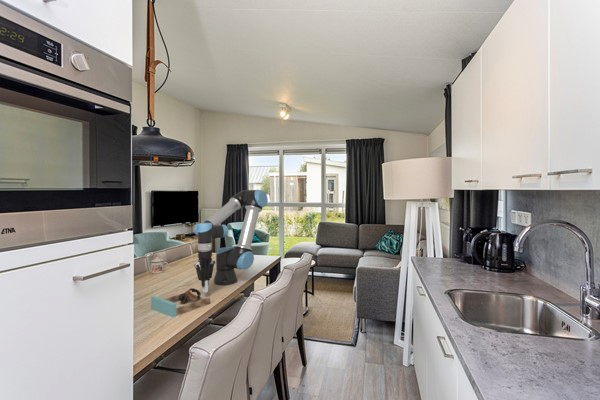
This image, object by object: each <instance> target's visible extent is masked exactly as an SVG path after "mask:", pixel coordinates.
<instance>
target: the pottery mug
mask: <svg viewBox="0 0 600 400" xmlns="http://www.w3.org/2000/svg"><path fill="white" fill-rule="evenodd" d="M183 293H184V294H183ZM183 293H182V292H181V293H179V294H180V295H179V294H178V295H179V297H178V299H179V301H178V302H180V303H181V304H185V302H186V301H187V300H188V299H189V298H188V296H189V297H190V298H191V299H193V300H194V301H193V303H194V302H197V301H199V300H201V296H202V295H201V294H202V293H201V292H200V290H198V289H197V288H194V287H191V288H189V289H188V290H186V291H185V292H183ZM194 293H196V294H194ZM187 295H188V296H187Z"/></svg>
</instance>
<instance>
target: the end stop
mask: <svg viewBox="0 0 600 400" xmlns="http://www.w3.org/2000/svg"><path fill="white" fill-rule="evenodd" d="M165 299H166V298H162V297H159V296H156V295H154V296H151V297H150V300H151V301H150V302H151V303H150V305H151V306H150V309H151V310H154V311H156V312H159V313H160V314H163V315H166V316H168V317H171V318H174V317H177V316H176V308H177V303H176V302H174V303H173V302H170V301H168V300H165Z"/></svg>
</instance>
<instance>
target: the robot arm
mask: <svg viewBox="0 0 600 400" xmlns="http://www.w3.org/2000/svg"><path fill="white" fill-rule="evenodd" d="M268 200H269V199H268V195H267V193H266V192H265V191H264V190H262V189H245V190H241V191H239V192H238V193H236V194H235V195H233V196H232V197H231V198H229V201H228V202H226V204H224V205H223V206H222V207H221V208H219V209H218V210H217V211H215V212H214V213H213V214H212V215H211V216H210V217H208V218H207V219H206V220H205V221H203V222H199V223H197V224H195V225H194V228H193V233H194V234H195V235H196V236H197V250H198V251H197V258H198V261H197V263H195V264H194V265H193V266H194V268H195V270H196V275H197V279H198V281H200V282H201V287H202V293H208V291H209V290H208V289H209V284H210V283H209V281H210V280H211V279H212V278H213V273H214V267H215V265H216V272H215V275H214V278H213V284H214V285H218V286H228V285H233V284H236V283H237V281H238V278H237V274H236V271H235V269H236V270H237V269H238V270H244V271H246V270H249V269H250V268H251V267H252V266H253V263H254V261H255V256H254V253H253V249H252V243H253V241H254V240H253V239H254V234H255V231H256V227H257V222H258V218H259V214H260V213H261V212H262V211H263V208H265V207H266V206H267V205H268V202H269V201H268ZM241 208H245V209H246V211H245V215H244V218H243V219H244V220H243V223H242V226H241V231H240V235H239V238H238V240H237V241H238V242H237V244H236V245H235V246H226V247H221V248H218V249H216V254H215V260H213V258H212V256H213V250H212V248H213V240H214V239H219V238H225V237H227V236H228V234H229V228H228V225H226V224H222V223H223V222H224V221H226V220H227V219H228V218H229V217H230V216H232V215H233V213H235V212H236V211H237V210H240V209H241ZM235 282H236V283H235Z"/></svg>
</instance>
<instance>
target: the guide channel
mask: <svg viewBox="0 0 600 400" xmlns="http://www.w3.org/2000/svg"><path fill="white" fill-rule="evenodd" d="M184 293H185V292H183V294H184ZM180 294H181V293H179V294H175V295H173V296H169V297H166V298H164V299H165V300H168V301H170V302H173V303H176V302H180V301H179V299H178V297H179V295H180ZM187 296H188V295H187ZM189 298H191V297H189V296H188V298H187V299H189ZM210 304H211V297H206V298H202V299H200V300H199V301H197V302H194V301H193V302H191V303H188V304H185V305H182V306H179V307H176V316H175V317H177V316H180V315H182V314H186V313H188V312H191V311H193V310H196V309H200V308H201V307H204V306H207V305H210Z"/></svg>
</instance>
